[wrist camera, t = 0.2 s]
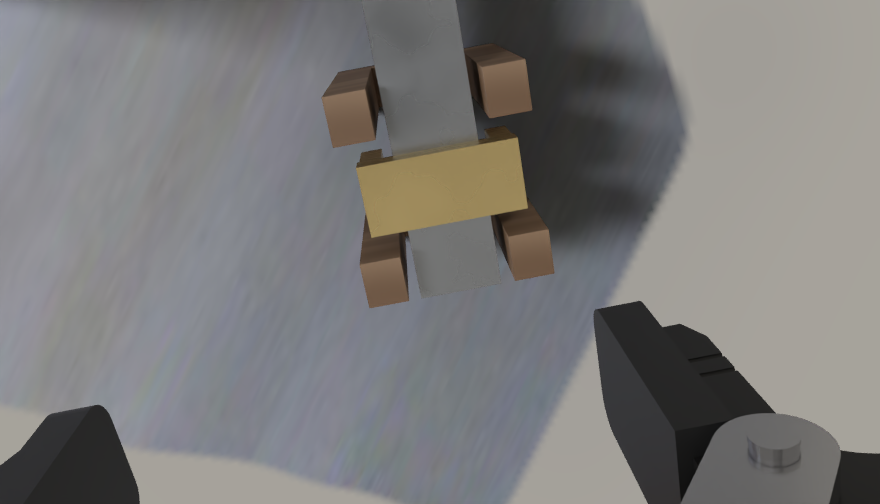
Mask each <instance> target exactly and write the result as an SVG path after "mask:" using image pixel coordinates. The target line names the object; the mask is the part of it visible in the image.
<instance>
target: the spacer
mask: <svg viewBox="0 0 880 504" xmlns="http://www.w3.org/2000/svg"><path fill="white" fill-rule="evenodd" d="M484 130H485V136H486V139H480V140H475V141H470V142H465V143H459V144H454V145H449V146H443V147H438V148H433V149H427V150H422V151H417V152H411V153H406V154H401V155H396V156H390V157H385V158H383V154H382V149H378V150H373V151H368V152H362V153H361V157H360V162H358V163H357V166H356V170H357V174H358V179H359V183H360V188H361V193H362V197H363V202H364V206H365V211H366V215H367V220H368V224H369V229H370V234H371V238H373V237H379V236H384V235H389V234H394V233H400V232H405V231H410V230H416V229H421V228H426V227H432V226H437V225H442V224H447V223H453V222H458V221H463V220H469V219H474V218H479V217H485V216H490V215H495V214H500V213H506V212H511V211H516V210H522V209H527V208H528V205H527V198H526V192H525V185H524V178H523V171H522V164H521V157H520V150H519V143H518V137H517V136H516V135H515V134H514V133H512V134H511V132H510V131H509V130H508V129H507V128H506V127H505V126H500V127H495V128H490V129H484Z"/></svg>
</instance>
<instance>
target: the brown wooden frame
mask: <svg viewBox="0 0 880 504" xmlns="http://www.w3.org/2000/svg"><path fill="white" fill-rule="evenodd" d="M464 55H465V61H466V67H467V73H468V80H469V86H470V92H471V95H472V96H473V98H474V99H475V100H476V101H477V103H478V104H479V105H480V106H481V108H482V109H483V110H484V111H485V113H486V114H487V115H488V116H489V118H495V117H500V116H505V115H510V114H516V113H521V112H526V111H532V104H531V97H530V89H529V82H528V74H527V67H526V60H525V59H524V58H522V57H520V56H518V55H516V54H514V53H512V52H510V51H508V50H506V49H504V48H502V47H499V46H497V45H495V44H493V43H490V44H485V45H480V46H474V47H469V48H464ZM322 101H323V106H324V110H325V115H326V119H327V123H328V128H329V132H330V137H331V141H332V145H333V148H336V147H341V146H346V145H351V144H357V143H362V142H367V141H373V140H375V139H376V130H377V121H378V112H379V107H383V105H382V100H381V95H380V90H379V85H378V80H377V75H376V70H375V65H374V66H368V67H363V68H358V69H353V70H347V71H342V72H338V74H337V75H336V77H335V78H334V80H333V81H332V83H331V84H330V86H329V87H328V89H327V90H326V92H325V93H324V95H323V96H322ZM526 198H527V196H526ZM527 205H528V208H527V209H522V210H516V211H511V212H506V213H500V214H495V215H491V222H492V228H493V231H494V233H495V235H496V237H497V240H498V242H499V244H500V247H501V249H502V251H503V254H504V256H505V258H506V261H507V263H508V265H509V268H510V270H511V272H512V274H513V277H514V279H515V281H517V280H522V279H527V278H533V277H538V276H543V275H549V274H554V266H553V258H552V251H551V244H550V236H549V229H548V228H547V226H546V225H545V223H544V222H543V220H542V219H541V217H540V216H539V214H538V213H537V211H536V210H535V208H534V207H533V205H532V204H531V202H530V201H529V199H528V198H527ZM405 236H409V234H408V231H405V232H400V233H394V234H389V235H384V236H379V237H373V238H371V234H370V229H369V224H368V220H367V215H365V224H364V232H363V241H362V250H361V258H360V268H361V273H362V277H363V281H364V286H365V290H366V295H367V299H368V303H369V308H374V307H379V306H384V305H390V304H395V303H400V302H405V301H409V294H408V277H407V259H406V242H405Z"/></svg>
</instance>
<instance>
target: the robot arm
mask: <svg viewBox="0 0 880 504" xmlns="http://www.w3.org/2000/svg"><path fill="white" fill-rule="evenodd" d="M594 329H595V337H596V345H597V353H598V361H599V369H600V377H601V385H602V393H603V400H604V405H605V409H606V413H607V417H608V421H609V424H610V427H611V429H612V432H613V434H614V436H615V438H616V440H617V442H618V444H619V446H620V448H621V450H622V452H623V454H624V456H625V458H626V460H627V462H628V464H629V466H630V468H631V470H632V472H633V474H634V476H635V478H636V480H637V482H638V484H639V486H640V488H641V490H642V492H643V494H644V497H645V498H646V500H647V503H648V504H880V454H872V453H869V454H868V453H855V452H847V451H841V450H840V447H839V445H838V443H837V441H836V440H835V439H834V438H833V436H832V435H831V434H830V433H829V432H827V431H826V430H825V429H823V428H822V427H820V426H818V425H816V424H815V423H812V422H810V421H807V420H805V419H802V418H798V417H794V416H790V415H785V414H776V413H775V412H774V411H773V410H772V409H771V407H770V406H769V405H768V404H767V403H766V402H765V401H764V400H763V399H762V397H761V396H760V395H759V394H758V393H757V392H756V391H755V389H754V388H753V387H752V386H751V385H750V384H749V383H748V382H747V381H746V380H745V378H744V377H743V376H742V375H741V374H740V373H739V372H738V371H735V369H734V366H733V365H732V364H731V363H730V362H729V361H728V360H727V358H726V357H725V356H722V353H721V352H720V351H719V349H718V348H717V347H716V346H715V345H714V344H713V343H712V342H711V341H710V339H709V338H708V337H707V336H705V335H703V334H701V333H699V332H697V331H694V330H692V329H690V328H688V327H686V326H684V325H682V324H677V325H672V326H667V327H662V326H661V325H660V324H659V323H658V321H657V320H656V319H655V318H654V317H653V315H652V314H651V313H650V311H649V310H648V309H647V308H646V306H645V305H644V304H643V303H642V302H641V301H637V302H632V303H627V304H621V305H616V306H611V307H606V308H601V309H596V310H595V311H594ZM0 504H140V501H139V492H138V487H137V484H136V481H135V478H134V476H133V473H132V471H131V468H130V466H129V463H128V460H127V458H126V455H125V453H124V450H123V447H122V445H121V442H120V440H119V437H118V435H117V432H116V429H115V427H114V424H113V422H112V419H111V417H110V415H109V413H108V412H107V410H106V409H105V408H104V407H102V406H100V405H94V406H89V407H84V408H78V409H73V410H68V411H63V412H58V413H53V414H50V415H48V416H47V417H46V418H45V420H44V421H43V422H42V423H41V425H40V426H39V427H38V428H37V430H36V431H35V432H34V433H33V435H32V436H31V437H30V439H29V440H28V441H27V442H26V444H25V445H24V446H23V447H22V449H21V450H20V451H19V452H17V453H16V454H15V455H13V456H12V457H11V458H10V459H8V460H7V461H6V462H4V463H3V464H2V465H0Z"/></svg>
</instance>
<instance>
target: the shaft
mask: <svg viewBox="0 0 880 504" xmlns="http://www.w3.org/2000/svg"><path fill="white" fill-rule="evenodd" d="M361 1H362V6H363V11H364V16H365V21H366V26H367V31H368V36H369V41H370V45H371V50H372V55H373V60H374V65H375V70H376V75H377V80H378V85H379V90H380V95H381V100H382V105H383V110H384V115H385V120H386V125H387V130H388V135H389V140H390V145H391V150H392V155H393V156H396V155H401V154H406V153H411V152H417V151H422V150H427V149H433V148H438V147H443V146H449V145H454V144H459V143H465V142H470V141H475V140H478V135H477V129H476V123H475V117H474V110H473V104H472V98H471V92H470V86H469V80H468V73H467V67H466V61H465V55H464V49H463V43H462V36H461V30H460V24H459V18H458V12H457V6H456V0H361ZM408 234H409V239H410V244H411V249H412V254H413V259H414V264H415V269H416V274H417V279H418V283H419V288H420V293H421V298H427V297H432V296H438V295H443V294H448V293H454V292H459V291H464V290H470V289H475V288H480V287H485V286H491V285H496V284H501V277H500V271H499V265H498V259H497V252H496V246H495V240H494V234H493V228H492V222H491V215H490V216H485V217H479V218H474V219H469V220H463V221H458V222H453V223H447V224H442V225H437V226H432V227H426V228H421V229H416V230H410V231H408Z"/></svg>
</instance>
